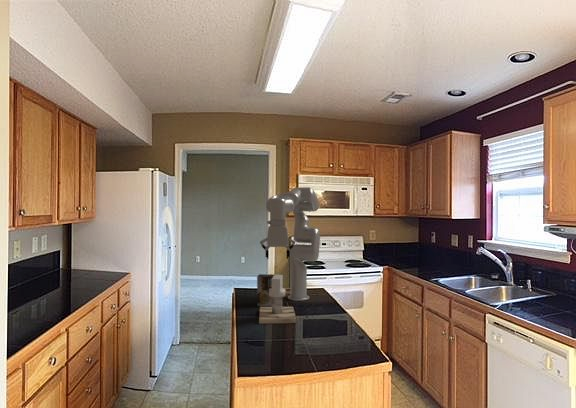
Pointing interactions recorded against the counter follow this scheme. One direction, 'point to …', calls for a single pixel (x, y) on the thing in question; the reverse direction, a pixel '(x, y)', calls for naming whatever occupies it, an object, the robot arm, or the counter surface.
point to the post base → (272, 317)
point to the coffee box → (264, 289)
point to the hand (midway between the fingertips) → (277, 258)
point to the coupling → (277, 287)
